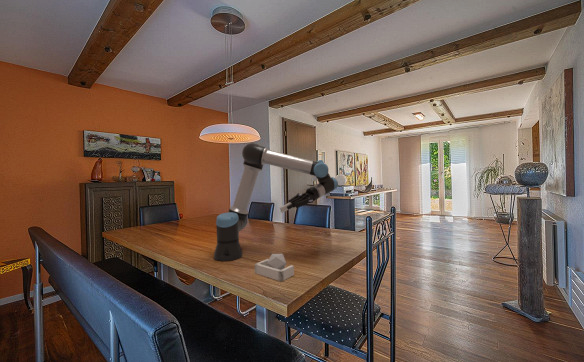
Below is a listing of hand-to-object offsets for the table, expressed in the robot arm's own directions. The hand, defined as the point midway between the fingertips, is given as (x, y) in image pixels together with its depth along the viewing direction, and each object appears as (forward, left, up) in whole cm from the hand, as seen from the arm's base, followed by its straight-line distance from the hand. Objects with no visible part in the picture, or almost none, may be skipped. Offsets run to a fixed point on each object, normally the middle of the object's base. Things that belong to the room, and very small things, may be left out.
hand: (281, 210), depth 126 cm
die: (+8, -13, -26) cm, 30 cm away
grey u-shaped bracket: (+9, -16, -26) cm, 32 cm away
